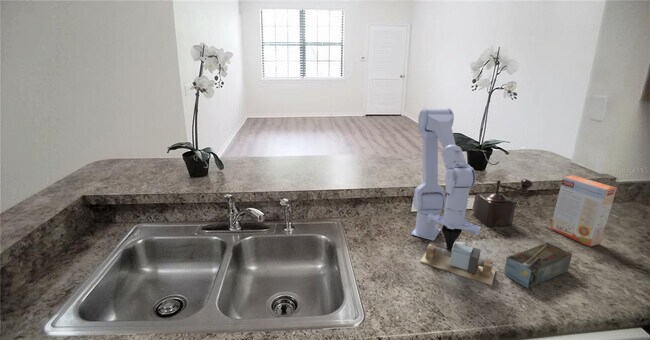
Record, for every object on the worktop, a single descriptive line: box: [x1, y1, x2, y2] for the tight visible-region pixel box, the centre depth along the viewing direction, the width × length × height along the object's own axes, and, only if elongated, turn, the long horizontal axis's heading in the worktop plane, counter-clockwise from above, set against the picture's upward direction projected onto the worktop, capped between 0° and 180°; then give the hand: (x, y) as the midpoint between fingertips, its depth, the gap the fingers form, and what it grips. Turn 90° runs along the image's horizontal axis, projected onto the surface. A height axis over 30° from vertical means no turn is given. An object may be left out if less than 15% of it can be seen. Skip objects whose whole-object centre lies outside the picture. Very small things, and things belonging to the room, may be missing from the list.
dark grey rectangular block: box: [467, 247, 481, 275], centre depth 97 cm, size 2×5×5 cm, turn 147°
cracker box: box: [550, 175, 617, 247], centre depth 116 cm, size 14×6×21 cm, turn 22°
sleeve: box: [450, 242, 474, 270], centre depth 99 cm, size 5×5×6 cm
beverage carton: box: [503, 242, 573, 289], centre depth 97 cm, size 8×19×7 cm, turn 116°
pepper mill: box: [472, 178, 534, 228], centre depth 128 cm, size 16×11×18 cm
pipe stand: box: [419, 241, 496, 286], centre depth 100 cm, size 20×8×4 cm, turn 58°
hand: (449, 249), depth 100 cm, fingers closed
